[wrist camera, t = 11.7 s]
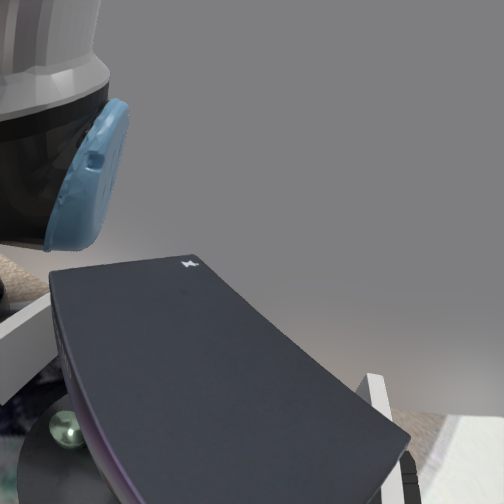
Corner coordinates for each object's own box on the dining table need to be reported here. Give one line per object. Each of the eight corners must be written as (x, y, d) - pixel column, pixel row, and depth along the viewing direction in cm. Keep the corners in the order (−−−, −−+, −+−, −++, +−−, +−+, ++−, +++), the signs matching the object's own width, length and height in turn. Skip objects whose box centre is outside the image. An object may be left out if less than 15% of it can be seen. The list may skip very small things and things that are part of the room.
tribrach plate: (-8, 512, 5) (-50, 480, 3) (107, 374, 22) (102, 329, 20) (285, 636, 3) (322, 646, 1) (316, 444, 20) (342, 407, 18)
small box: (75, 425, 12) (39, 261, 8) (170, 398, 16) (197, 248, 12) (181, 587, 5) (237, 621, 1) (284, 525, 10) (421, 428, 6)
